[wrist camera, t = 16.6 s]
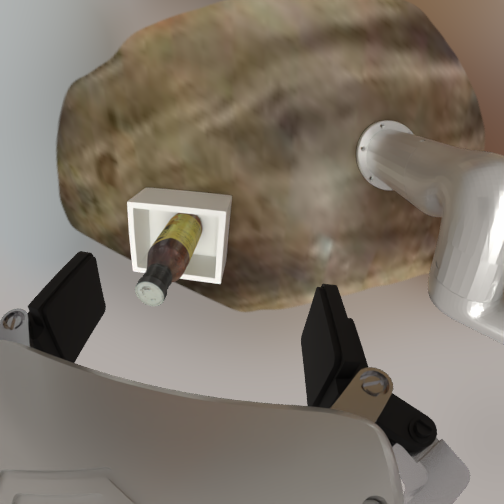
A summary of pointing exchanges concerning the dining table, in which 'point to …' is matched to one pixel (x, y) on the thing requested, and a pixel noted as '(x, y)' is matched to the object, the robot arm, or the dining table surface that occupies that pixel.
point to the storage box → (159, 214)
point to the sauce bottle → (169, 257)
